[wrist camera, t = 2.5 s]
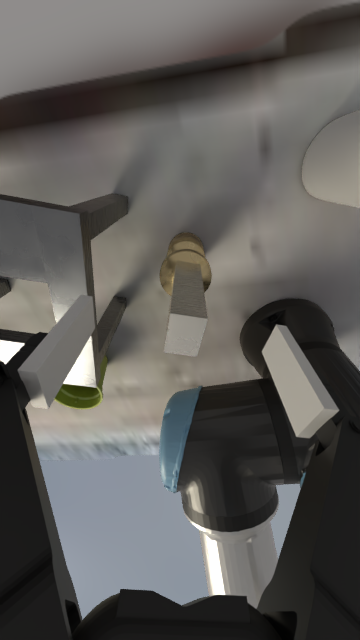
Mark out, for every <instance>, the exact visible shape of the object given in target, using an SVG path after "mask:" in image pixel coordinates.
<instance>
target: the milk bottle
mask: <svg viewBox="0 0 360 640" xmlns="http://www.w3.org/2000/svg"><path fill="white" fill-rule="evenodd" d="M302 182H303V185H304V187H305V189H306V191H307V192H308V193H309V194H310V195H311V196H313V197H315V198H317V199H320V200H324V201H329V202H333V203H338V204H343V205H347V206H352V207H357V208H360V110H357V111H355V112H352V113H349V114H347V115H344V116H342V117H339V118H337V119H335V120H334V121H332V122H330V123H329V124H328V125H326V126H325V127H324V128H323V129H322V130H321V131H320V132H319V133H318V134H317V135H316V137H315V138H314V139H313V141H312V142H311V144H310V146H309V148H308V150H307V152H306V154H305V157H304V160H303V164H302Z"/></svg>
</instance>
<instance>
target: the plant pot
mask: <svg viewBox="0 0 360 640" xmlns="http://www.w3.org/2000/svg"><path fill="white" fill-rule="evenodd" d="M107 363H108V360H107V357H106V356H104V358H103V360H102V362H101V365H100V372H101V378H100V380H99V383H98V385H97V388H95V387H87V386H79V385H71V384H63V385H62V386H61V388H60V390H59V392H58V393H57V395H56V397H55V398H54V400H55V401H57V402H58V403H60V404H62V405H64V406H67V407H70V408H75V409H91V408H94V407H96V406H98V405H99V404H100V403H101V402H102V399H103V393H102V385H103V380H104V376H105V371H106V367H107Z"/></svg>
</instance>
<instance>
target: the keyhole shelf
mask: <svg viewBox="0 0 360 640" xmlns="http://www.w3.org/2000/svg"><path fill="white" fill-rule="evenodd" d="M126 214H128V196H123V195H118V194H113V193H112V194H108V195H105V196H102V197H99V198H95V199H92V200H89V201H85V202H82V203H79V204H76V205H72V206H69V207H68V206H62V205H57V204H51V203H46V202H40V201H35V200H29V199H24V198H18V197H13V196H7V195H2V194H0V276H4V277H11V278H17V279H23V280H30V281H36V282H43V283H48V287H49V292H50V296H51V301H52V306H53V310H54V315H55V320H56V324H57V322H58V321H59V320H60V319H61V318H62V317H63V315H64V314H65V313H66V312H67V311H68V309H69V308H70V307H71V306H72V305H73V303H74V302H75V301H76V300H77V299H78V298H79V296H80V295H86V296H92V298H93V310H94V321H95V329H94V331H93V333H92V334H91V336H90V338H89V339H88V341H87V343H86V345H85V346H84V348H83V350H82V352H81V353H80V355H79V357H78V359H77V360H76V362H75V364H74V365H73V367H72V369H71V371H70V372H69V374H68V376H67V378H66V379H65V381H64V383H63V384H71V385H79V386H87V387H95V388H97V385H98V383H99V380H100V378H101V372H100V365H101V362H102V360H103V358H104V356H105V353H106V351H107V349H108V347H109V344H110V342H111V340H112V338H113V335H114V333H115V331H116V329H117V327H118V324H119V322H120V320H121V318H122V315H123V313H124V311H125V309H126V298H121V297H115V296H114V297H113V299H112V300H111V302H110V304H109V306H108V307H107V309H106V311H105V312H104V314H103V316H102V318H101V319H100V321H99V323H98V324H97V320H96V307H95V294H94V281H93V268H92V254H91V241H90V240H92V239H93V238H94V237H96V236H97V235H99V234H100V233H101V232H103V231H104V230H105V229H107V228H108V227H110V226H111V225H112V224H114V223H115V222H117V221H118V220H119V219H121V218H122V217H123V216H125V215H126ZM10 291H11V289H10V286H9V283H8V280H5V279H0V298H1V297H3V296H4V295H6V294H7V293H9V292H10ZM34 335H36V334H33V333H26V332H19V331H11V330H4V329H0V361H3V362H4V363H5V364H6V363H7V362H8V361H9V360H10V359H11V358H12V357H13V356H14V355H15V354H16V352H17V351H19V349H20V348H21V347H22V346H24V344H25V343H26V342H27V341H28V339H29V338H30V337H32V336H34Z"/></svg>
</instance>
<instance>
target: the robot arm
mask: <svg viewBox="0 0 360 640" xmlns="http://www.w3.org/2000/svg"><path fill="white" fill-rule="evenodd" d="M94 329H95V321H94V310H93V298H92V296H86V295H80V296H79V298H78V299H77V300H76V301H75V302H74V303H73V305H72V306H71V307H70V308H69V309H68V311H67V312H66V313H65V314H64V315H63V317H62V318H61V319H60V320H59V321H58V322H57V324H56V325H55V326H54V327H53V328H52V330H51V331H50V332H49V333H42V332H39V333H37V334H36V335H34V336H32V337H30V338H29V339H28V341H27V342H26V343H25V344H24V346H22V347H21V348H20V349H19V351H17V352H16V354H15V355H14V356H13V357H12V358H11V359H10V360H9V361H8V362H7V363H6V364H5V363H4V362H3V361H0V640H360V371H359V370H358V369H357V367H356V366H355V365H354V364H353V363H352V362H351V361H350V359H349V358H348V357H347V356H346V355H345V354H344V352H343V351H342V350H341V349H340V347H339V344H338V341H337V339H336V336H335V334H334V327H333V324H332V321H331V319H330V318H329V316H328V315H327V314H326V313H325V312H324V311H323V310H322V309H321V308H320V307H319V306H318V305H316V304H315V303H313V302H310V301H307V300H303V299H285V300H280V301H276V302H273V303H271V304H268V305H266V306H264V307H262V308H261V309H259V310H258V311H256V312H255V313H254V314H253V315H252V316H251V317H250V318H249V319H248V320H247V321H246V323H245V324H244V326H243V328H242V331H241V334H240V344H241V347H242V351H243V354H244V356H245V358H246V359H247V361H248V362H249V363H250V364H251V365H252V366H254V367H255V369H256V370H257V372H258V373H259V374H260V375H261V377H262V378H263V379H255V380H249V381H242V382H235V383H228V384H222V385H214V386H207V387H203V386H199V387H198V388H194V389H189V390H184V391H179V392H177V393H175V394H174V395H173V396H172V397H171V398H170V400H169V401H168V403H167V406H166V409H165V412H164V416H163V421H162V427H161V434H160V450H159V456H160V457H159V459H160V473H161V478H162V482H163V484H164V487H165V488H166V489H167V490H168V491H171V492H173V493H176V492H178V491H180V492H181V496H182V503H183V509H184V513H185V515H186V517H187V519H188V520H189V521H190V522H191V523H192V524H193V525H194V526H195V527H197V528H198V529H199V533H200V539H201V546H202V552H203V558H204V565H205V572H206V578H207V585H208V592H209V596H208V597H203V598H199V599H197V600H194V601H192V602H189V603H187V604H184V605H182V606H181V605H179V604H177V603H175V602H173V601H172V600H170V599H168V598H166V597H163V596H161V595H160V594H158V593H156V592H154V591H147V590H128V589H121V590H120V593H118V594H116V595H113V596H111V597H109V598H107V599H106V600H104V601H102V602H101V603H100V604H99V605H97V606H96V607H95V608H94V609H93V610H92V611H91V612H90V613H89V614H88V615H87V616H86V617H85V618H84V619H83V620H82V616H81V613H80V609H79V605H78V601H77V597H76V593H75V590H74V587H73V583H72V580H71V577H70V574H69V571H68V569H67V566H66V562H65V558H64V554H63V550H62V546H61V542H60V539H59V535H58V531H57V527H56V523H55V519H54V516H53V512H52V508H51V504H50V500H49V496H48V492H47V489H46V485H45V481H44V477H43V473H42V469H41V465H40V461H39V458H38V454H37V450H36V446H35V442H34V438H33V434H32V431H31V427H30V423H29V419H28V415H27V411H26V409H25V407H26V405H27V404H28V403H29V401H30V402H31V404H32V406H33V407H37V408H46V409H49V407H50V405H51V404H52V402H53V400H54V398H55V397H56V395H57V393H58V392H59V390H60V388H61V386H62V385H63V383H64V381H65V379H66V378H67V376H68V374H69V372H70V371H71V369H72V367H73V365H74V364H75V362H76V360H77V359H78V357H79V355H80V353H81V352H82V350H83V348H84V346H85V345H86V343H87V341H88V339H89V338H90V336H91V334H92V333H93V331H94ZM283 484H300V488H301V490H300V493H299V496H298V499H297V502H296V506H295V509H294V512H293V515H292V518H291V521H290V525H289V528H288V531H287V534H286V537H285V541H284V544H283V547H282V550H281V553H280V556H279V559H278V558H277V553H276V548H275V543H274V538H273V533H272V529H271V524H270V521H271V520H272V519H273V517H274V516H275V514H276V512H277V510H278V505H279V499H278V494H277V490H276V485H283Z"/></svg>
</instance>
